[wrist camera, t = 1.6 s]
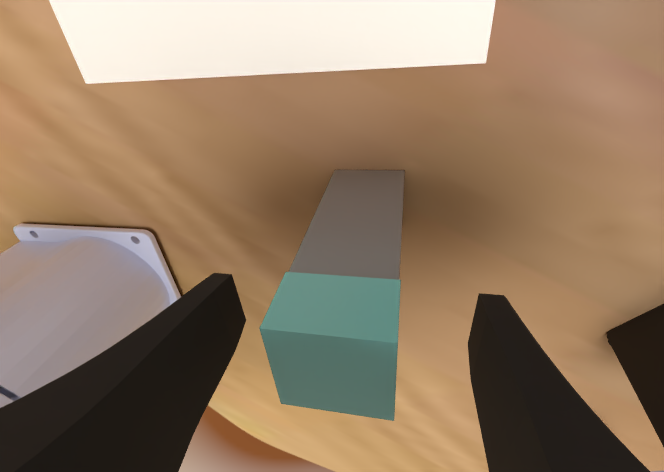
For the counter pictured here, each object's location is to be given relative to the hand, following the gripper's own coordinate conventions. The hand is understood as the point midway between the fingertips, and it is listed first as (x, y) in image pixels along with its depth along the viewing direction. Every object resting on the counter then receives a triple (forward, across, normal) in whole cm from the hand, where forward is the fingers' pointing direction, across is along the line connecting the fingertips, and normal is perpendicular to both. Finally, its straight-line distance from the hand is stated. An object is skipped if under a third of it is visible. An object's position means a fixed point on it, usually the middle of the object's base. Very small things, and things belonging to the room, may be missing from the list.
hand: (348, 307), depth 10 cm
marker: (+7, 0, 0) cm, 7 cm away
